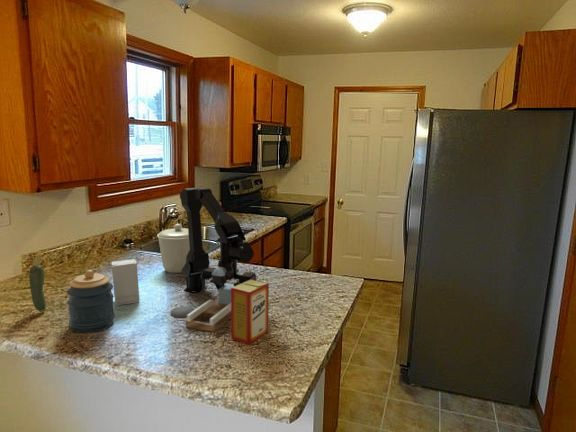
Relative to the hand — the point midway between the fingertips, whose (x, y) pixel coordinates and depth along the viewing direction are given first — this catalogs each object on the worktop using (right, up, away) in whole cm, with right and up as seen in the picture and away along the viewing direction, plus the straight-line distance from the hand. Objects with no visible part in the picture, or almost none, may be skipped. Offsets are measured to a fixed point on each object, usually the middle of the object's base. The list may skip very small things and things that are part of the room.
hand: (229, 299), depth 146 cm
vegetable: (-62, -3, -7) cm, 62 cm away
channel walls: (-4, -3, -12) cm, 13 cm away
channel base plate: (-2, -4, -6) cm, 7 cm away
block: (0, -1, 0) cm, 1 cm away
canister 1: (-41, -5, -15) cm, 44 cm away
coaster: (-15, -3, -5) cm, 16 cm away
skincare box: (-37, -2, +3) cm, 37 cm away
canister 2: (-28, +5, +41) cm, 50 cm away
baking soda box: (+9, -7, -21) cm, 24 cm away
